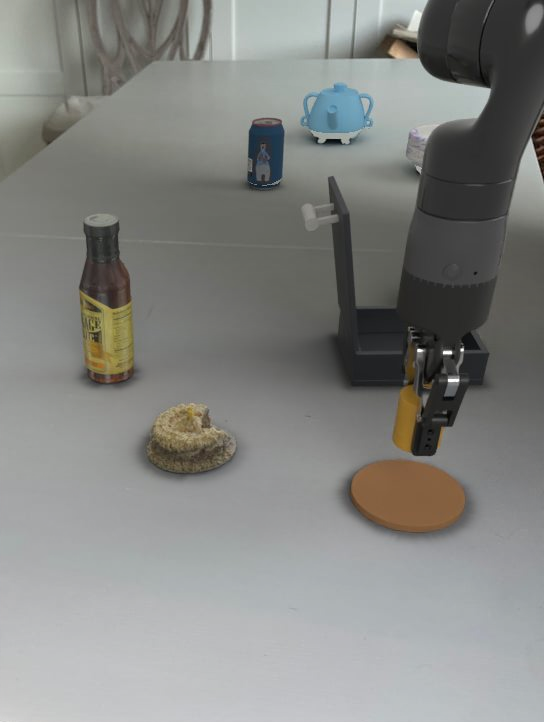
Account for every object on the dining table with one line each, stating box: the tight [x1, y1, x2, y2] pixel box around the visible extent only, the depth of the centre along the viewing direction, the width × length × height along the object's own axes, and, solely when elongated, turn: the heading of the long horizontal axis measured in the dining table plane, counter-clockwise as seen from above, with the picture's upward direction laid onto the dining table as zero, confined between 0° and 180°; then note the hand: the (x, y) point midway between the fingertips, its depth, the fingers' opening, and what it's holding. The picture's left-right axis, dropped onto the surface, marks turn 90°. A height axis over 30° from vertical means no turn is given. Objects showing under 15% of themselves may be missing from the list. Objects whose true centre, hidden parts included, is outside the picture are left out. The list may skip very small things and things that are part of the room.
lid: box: [300, 175, 359, 352], centre depth 96 cm, size 16×14×4 cm
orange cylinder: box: [391, 384, 445, 454], centre depth 75 cm, size 4×4×5 cm
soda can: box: [246, 117, 286, 191], centre depth 159 cm, size 7×7×12 cm
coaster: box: [349, 459, 466, 533], centre depth 80 cm, size 11×11×1 cm
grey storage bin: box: [337, 305, 490, 387], centre depth 102 cm, size 16×14×4 cm
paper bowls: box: [405, 123, 442, 168], centre depth 162 cm, size 15×15×8 cm
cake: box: [145, 402, 237, 474], centre depth 87 cm, size 10×10×5 cm
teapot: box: [299, 82, 374, 133], centre depth 184 cm, size 20×17×12 cm
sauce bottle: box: [78, 213, 135, 385], centre depth 97 cm, size 6×6×20 cm
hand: (417, 438), depth 76 cm, fingers closed on orange cylinder, 4 cm apart
